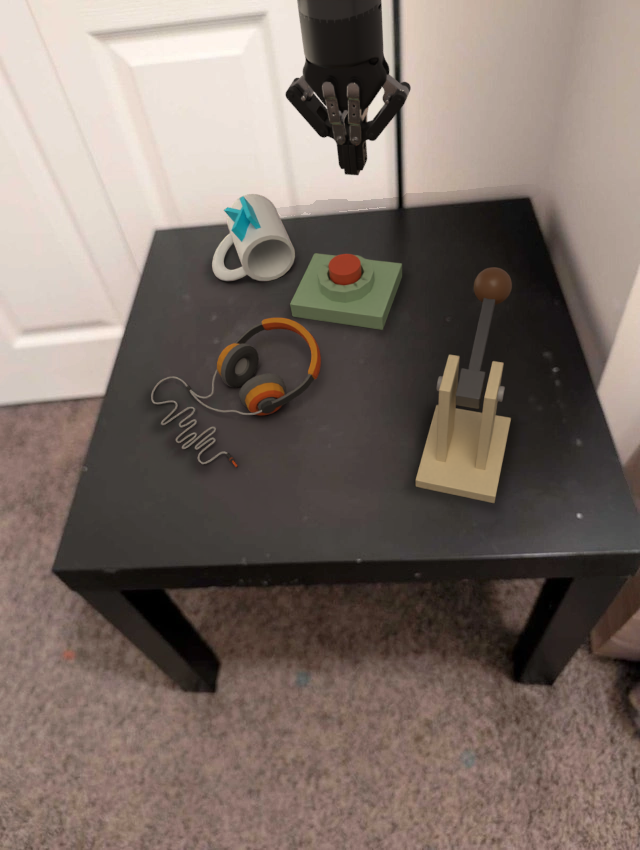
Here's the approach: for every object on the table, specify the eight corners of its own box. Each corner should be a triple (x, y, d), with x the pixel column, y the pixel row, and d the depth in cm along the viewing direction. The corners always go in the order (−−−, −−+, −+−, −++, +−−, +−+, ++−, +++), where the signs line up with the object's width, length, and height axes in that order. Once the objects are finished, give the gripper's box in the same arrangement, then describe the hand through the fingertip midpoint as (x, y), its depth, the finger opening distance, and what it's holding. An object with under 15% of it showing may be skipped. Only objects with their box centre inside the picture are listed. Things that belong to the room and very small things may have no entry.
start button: (365, 266, 85) (364, 255, 83) (356, 287, 82) (355, 276, 81) (335, 262, 86) (333, 251, 84) (325, 283, 84) (324, 272, 82)
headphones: (129, 384, 78) (262, 279, 80) (152, 406, 83) (278, 306, 84) (195, 481, 69) (344, 361, 71) (217, 499, 74) (356, 386, 75)
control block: (402, 276, 88) (401, 252, 85) (382, 330, 83) (381, 306, 79) (316, 265, 91) (312, 242, 88) (292, 316, 86) (287, 293, 83)
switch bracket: (436, 411, 74) (439, 330, 64) (509, 424, 72) (525, 342, 62) (415, 486, 69) (415, 411, 59) (494, 503, 67) (508, 427, 56)
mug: (246, 164, 90) (268, 214, 83) (282, 210, 97) (304, 260, 90) (178, 216, 93) (193, 268, 86) (218, 256, 100) (235, 308, 92)
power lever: (477, 278, 68) (477, 257, 64) (513, 282, 67) (516, 262, 63) (448, 406, 63) (447, 391, 60) (486, 413, 62) (487, 398, 59)
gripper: (255, 15, 59) (286, 186, 73) (401, 16, 56) (405, 196, 70) (283, -21, 64) (308, 148, 77) (421, -22, 60) (421, 155, 74)
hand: (354, 170), depth 73 cm, fingers closed
